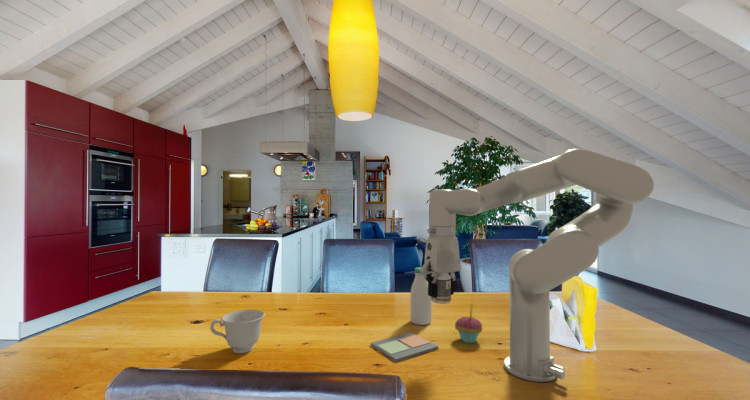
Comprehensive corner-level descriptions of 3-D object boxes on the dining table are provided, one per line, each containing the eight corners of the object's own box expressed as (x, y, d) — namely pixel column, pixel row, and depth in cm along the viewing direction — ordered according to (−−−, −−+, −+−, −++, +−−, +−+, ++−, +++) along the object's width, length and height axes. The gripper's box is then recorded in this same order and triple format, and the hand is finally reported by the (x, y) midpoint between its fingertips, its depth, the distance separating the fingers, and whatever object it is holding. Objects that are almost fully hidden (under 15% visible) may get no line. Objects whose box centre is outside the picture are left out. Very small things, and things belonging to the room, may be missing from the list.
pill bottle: (454, 301, 95) (455, 267, 95) (444, 306, 90) (444, 269, 91) (437, 297, 98) (438, 264, 99) (426, 301, 94) (427, 266, 94)
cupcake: (464, 332, 112) (464, 297, 112) (487, 340, 106) (487, 302, 106) (450, 339, 106) (450, 302, 106) (474, 348, 100) (474, 308, 100)
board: (438, 348, 99) (438, 345, 99) (396, 362, 90) (396, 358, 90) (410, 334, 110) (410, 331, 110) (370, 345, 101) (370, 342, 101)
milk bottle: (432, 325, 118) (432, 270, 119) (411, 325, 119) (411, 270, 119) (429, 318, 126) (429, 266, 127) (409, 318, 126) (409, 266, 127)
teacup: (211, 346, 100) (211, 313, 100) (262, 338, 106) (263, 307, 106) (208, 363, 89) (209, 326, 89) (266, 354, 95) (266, 319, 95)
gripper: (428, 234, 87) (427, 302, 87) (472, 232, 96) (471, 294, 96) (410, 232, 93) (409, 295, 93) (453, 230, 103) (452, 288, 102)
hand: (440, 294), depth 94 cm, fingers closed on pill bottle, 5 cm apart
